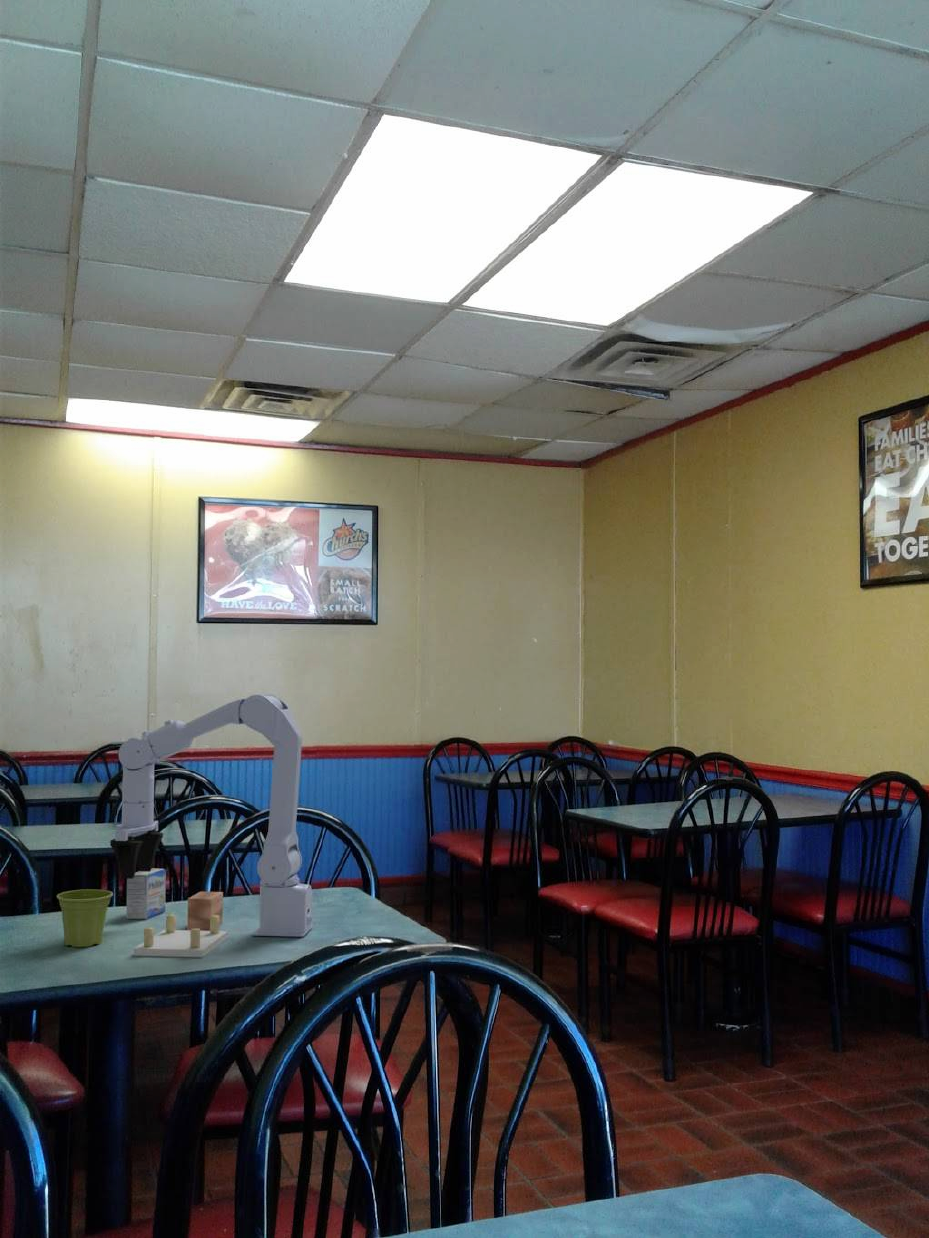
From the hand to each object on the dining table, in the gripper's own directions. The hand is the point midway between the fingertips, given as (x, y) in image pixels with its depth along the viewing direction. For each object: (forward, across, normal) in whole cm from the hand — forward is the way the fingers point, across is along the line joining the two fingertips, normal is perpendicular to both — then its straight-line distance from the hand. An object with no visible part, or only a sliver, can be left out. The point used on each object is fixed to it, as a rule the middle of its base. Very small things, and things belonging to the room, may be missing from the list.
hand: (136, 874), depth 202 cm
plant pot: (+10, +12, -4) cm, 17 cm away
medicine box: (+10, -12, -3) cm, 16 cm away
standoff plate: (+10, +12, +14) cm, 21 cm away
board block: (+10, -4, +12) cm, 16 cm away
